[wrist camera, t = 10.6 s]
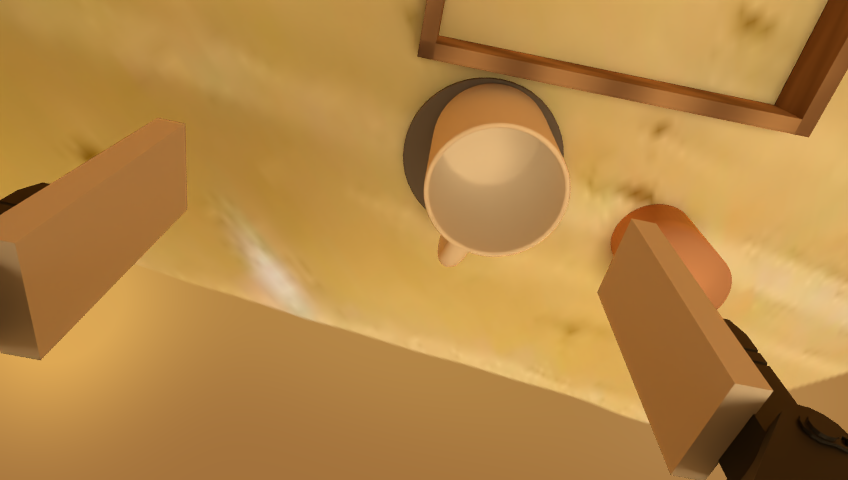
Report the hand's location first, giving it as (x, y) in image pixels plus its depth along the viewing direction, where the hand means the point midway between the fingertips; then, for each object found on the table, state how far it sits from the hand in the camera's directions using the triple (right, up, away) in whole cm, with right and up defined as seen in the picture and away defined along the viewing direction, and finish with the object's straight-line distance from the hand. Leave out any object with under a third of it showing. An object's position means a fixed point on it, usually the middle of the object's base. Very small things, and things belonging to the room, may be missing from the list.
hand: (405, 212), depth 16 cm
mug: (+5, +5, +24) cm, 25 cm away
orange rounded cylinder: (+19, -1, +27) cm, 33 cm away
